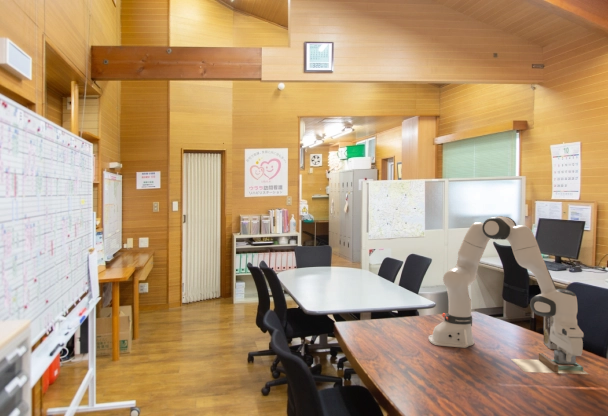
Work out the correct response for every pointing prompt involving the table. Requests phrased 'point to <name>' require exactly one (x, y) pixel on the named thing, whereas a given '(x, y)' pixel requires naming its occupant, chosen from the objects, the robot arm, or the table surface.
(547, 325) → the coffee box
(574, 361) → the block
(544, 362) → the lock board
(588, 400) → the table surface
